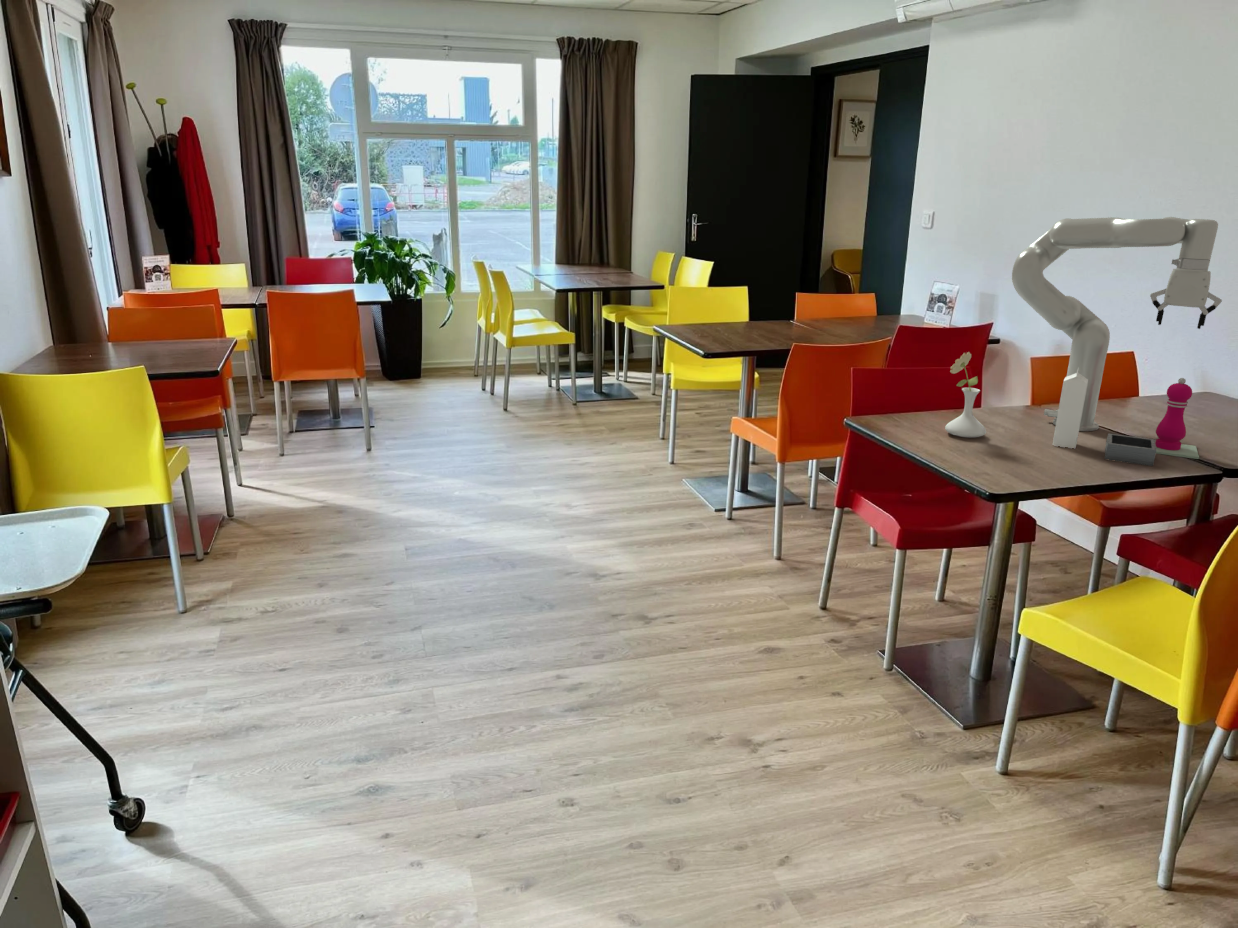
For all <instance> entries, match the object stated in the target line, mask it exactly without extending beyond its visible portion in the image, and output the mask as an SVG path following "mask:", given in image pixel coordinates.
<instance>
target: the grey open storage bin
mask: <svg viewBox="0 0 1238 928" xmlns="http://www.w3.org/2000/svg"><path fill="white" fill-rule="evenodd" d="M1106 436H1107V437H1106V442H1105V447H1104V460H1105V459H1109V460H1108V461H1112V460H1115V461H1114V462H1119V461H1122V462H1121V463H1127V462H1128V463H1129V464H1134V465H1135V464H1136V465H1143V466H1149V467H1150V466H1151V467H1154V463H1155V459H1156V444H1155V441H1156V439H1154V438H1147V437H1139V436H1132V435H1130V436H1129V435H1124V434H1117V433H1116V434H1115V433H1107V435H1106ZM1128 463H1127V464H1128Z"/></svg>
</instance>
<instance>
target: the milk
mask: <svg viewBox="0 0 1238 928" xmlns="http://www.w3.org/2000/svg"><path fill="white" fill-rule="evenodd" d="M1078 369H1079V368H1078ZM1087 385H1088V379H1086V378H1085V377H1084V376H1082V375H1081V374H1079V373H1078V370H1077V373H1075V374H1072V375H1070V376H1067V375H1066V376H1065V377H1064V379H1063V383H1062V388H1061V393H1060V398H1059V404H1058V409H1057V410H1058V416H1057V421H1056V425H1055V428H1054V434H1053V439H1052V445H1054V446H1053V447H1058V446H1060V447H1059V448H1065V447H1068V448H1067V449H1072V448H1074V449H1073V450H1075V449H1076V447H1077V443H1078V438H1079V433H1080V431H1079V428H1080V423H1081V417H1082V412H1083V406H1084V401H1085V395H1086V390H1087Z"/></svg>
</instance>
